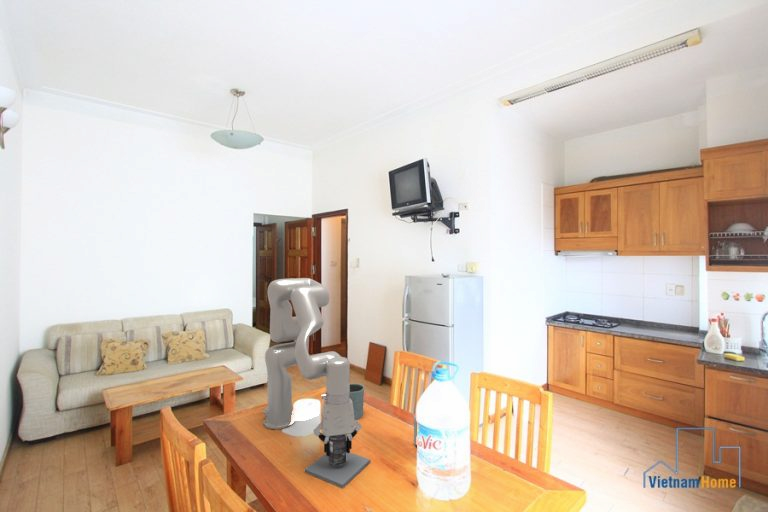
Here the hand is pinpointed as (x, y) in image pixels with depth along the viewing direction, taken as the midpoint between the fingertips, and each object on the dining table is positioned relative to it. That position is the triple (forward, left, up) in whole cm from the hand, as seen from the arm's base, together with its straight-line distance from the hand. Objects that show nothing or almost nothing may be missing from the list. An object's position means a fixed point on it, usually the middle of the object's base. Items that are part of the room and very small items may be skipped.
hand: (337, 451), depth 115 cm
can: (+19, +26, -5) cm, 33 cm away
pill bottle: (0, 0, -3) cm, 3 cm away
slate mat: (0, 0, -5) cm, 5 cm away
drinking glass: (-17, +32, -5) cm, 37 cm away
